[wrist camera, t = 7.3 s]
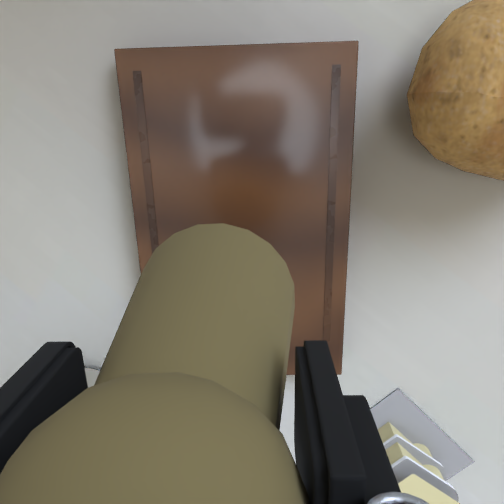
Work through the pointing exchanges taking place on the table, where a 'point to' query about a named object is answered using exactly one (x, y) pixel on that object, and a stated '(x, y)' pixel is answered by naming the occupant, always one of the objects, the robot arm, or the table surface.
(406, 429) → the stacked layers on plate
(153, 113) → the cutting board
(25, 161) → the table surface
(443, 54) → the potato
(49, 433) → the olive tapered rounded piece
